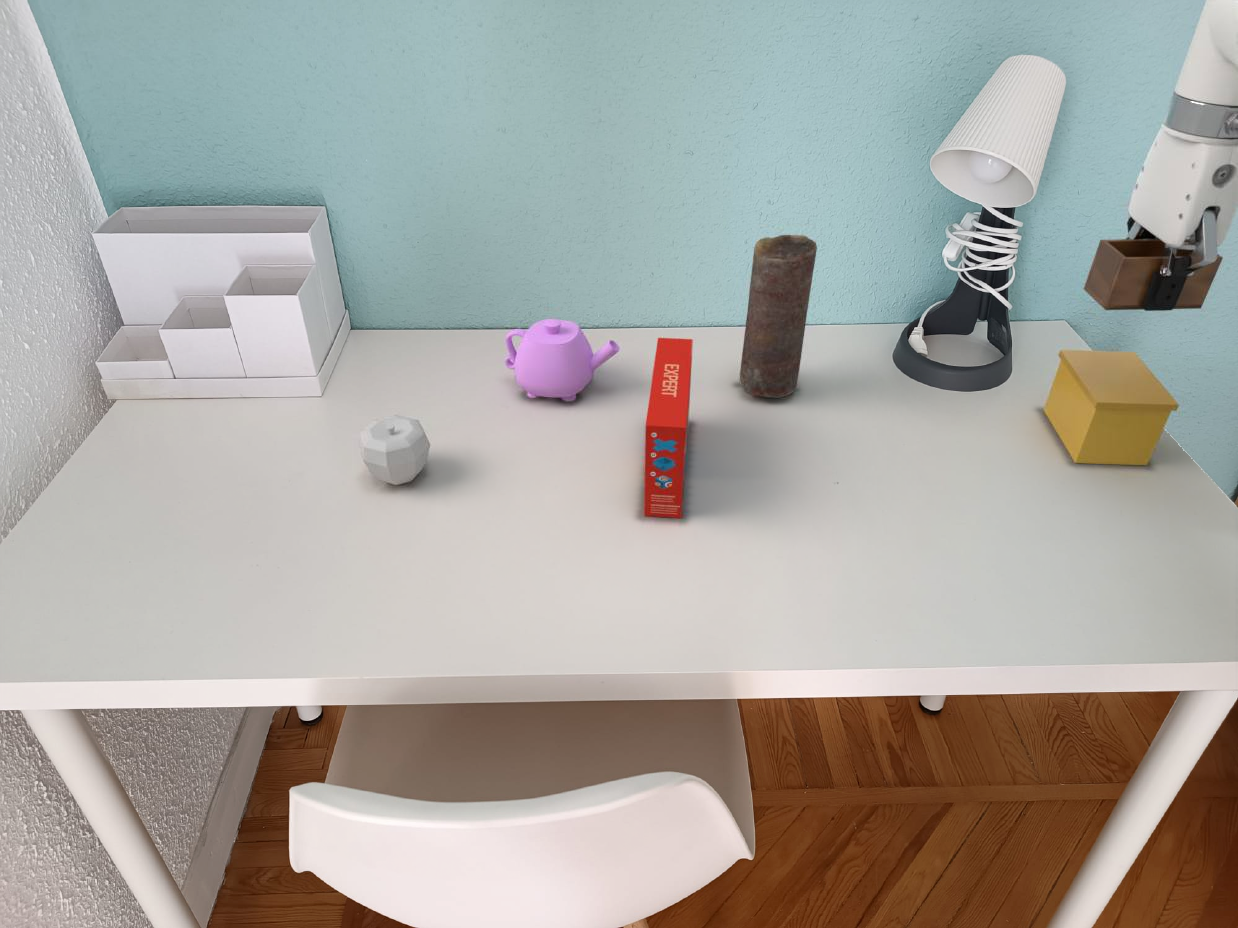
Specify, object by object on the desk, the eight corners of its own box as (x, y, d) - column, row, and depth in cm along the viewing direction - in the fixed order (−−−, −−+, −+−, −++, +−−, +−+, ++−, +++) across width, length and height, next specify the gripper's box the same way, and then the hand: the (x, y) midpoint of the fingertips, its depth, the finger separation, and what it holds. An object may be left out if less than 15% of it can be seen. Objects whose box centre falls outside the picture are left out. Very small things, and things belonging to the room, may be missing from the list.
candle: (800, 406, 109) (822, 255, 97) (741, 406, 109) (756, 255, 97) (791, 375, 115) (811, 229, 103) (736, 375, 115) (749, 229, 103)
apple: (372, 454, 101) (361, 407, 97) (440, 453, 101) (432, 406, 97) (357, 498, 95) (345, 448, 91) (429, 496, 95) (421, 447, 91)
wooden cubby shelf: (1174, 287, 94) (1195, 238, 91) (1201, 308, 90) (1223, 257, 87) (1083, 289, 94) (1100, 239, 90) (1105, 310, 90) (1124, 259, 86)
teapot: (518, 362, 118) (512, 299, 113) (626, 372, 116) (626, 308, 110) (495, 402, 110) (488, 337, 105) (611, 414, 108) (610, 348, 102)
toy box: (655, 421, 106) (657, 337, 100) (688, 423, 106) (692, 339, 99) (644, 516, 92) (645, 425, 85) (681, 518, 92) (686, 427, 85)
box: (1151, 467, 99) (1179, 404, 94) (1073, 464, 99) (1097, 402, 94) (1111, 411, 108) (1134, 351, 103) (1040, 409, 108) (1060, 349, 103)
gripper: (1312, 144, 74) (1224, 335, 85) (1199, 93, 88) (1136, 263, 99) (1225, 145, 74) (1148, 336, 85) (1126, 94, 88) (1070, 264, 98)
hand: (1142, 295), depth 92 cm, fingers closed on wooden cubby shelf, 5 cm apart
